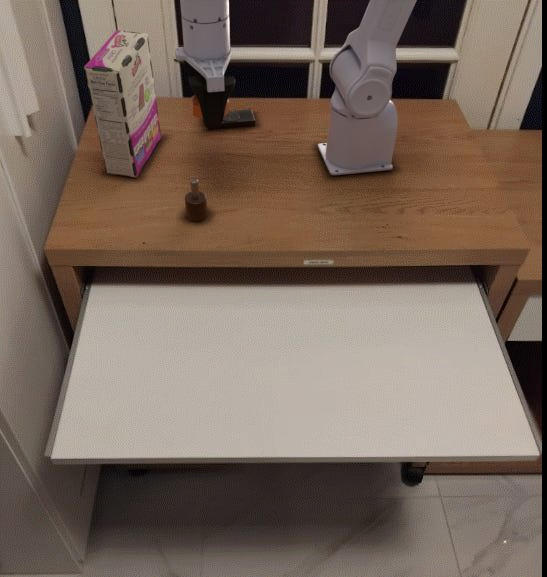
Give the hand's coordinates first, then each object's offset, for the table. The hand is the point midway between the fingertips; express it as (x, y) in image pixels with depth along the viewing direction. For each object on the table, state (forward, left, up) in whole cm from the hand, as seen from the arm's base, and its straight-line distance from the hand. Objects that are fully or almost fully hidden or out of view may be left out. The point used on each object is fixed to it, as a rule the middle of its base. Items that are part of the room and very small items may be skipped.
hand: (210, 115), depth 86 cm
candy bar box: (+11, -6, -9) cm, 15 cm away
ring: (0, 0, +1) cm, 1 cm away
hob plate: (-4, -13, -9) cm, 16 cm away
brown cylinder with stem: (+4, +10, -9) cm, 14 cm away
